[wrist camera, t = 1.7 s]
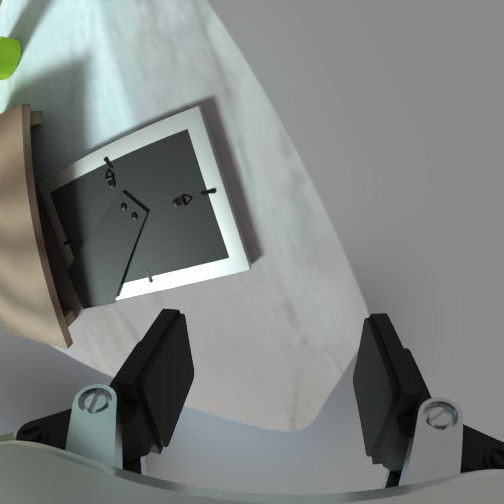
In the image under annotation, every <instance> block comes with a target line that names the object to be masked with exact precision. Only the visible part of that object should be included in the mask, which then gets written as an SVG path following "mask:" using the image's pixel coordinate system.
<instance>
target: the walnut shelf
mask: <svg viewBox="0 0 504 504" xmlns="http://www.w3.org/2000/svg"><path fill="white" fill-rule="evenodd" d="M41 123H42V111H30V104H22V105H19V106H17V107H15V108H13V109H10V110H8V111H6V112H4V113H2V114H0V316H1V319H2V321H3V324H4V326H5V329H6V331H7V333H11V334H14V335H17V336H21V337H24V338H28V339H32V340H35V341H39V342H43V343H46V344H50V345H54V346H58V347H63V348H67V349H68V348H69V347H70V346H71V345H72V344H73V342H72V339H71V336H70V333H69V330H68V327H69V326H70V325H71V324H72V323H73V322H74V321H75V320H76V318H75V315H74V312H73V310H72V309H65V308H61V306H60V303H59V299H58V296H57V292H56V289H55V285H54V282H53V278H52V274H51V270H50V266H49V262H48V258H47V253H46V249H45V244H44V239H43V234H42V229H41V224H40V218H39V212H38V206H37V199H36V192H35V184H34V175H33V165H32V152H31V135H30V127H32V126H35V125H38V124H41Z"/></svg>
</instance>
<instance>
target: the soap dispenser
mask: <svg viewBox="0 0 504 504" xmlns="http://www.w3.org/2000/svg"><path fill="white" fill-rule="evenodd" d="M21 52H22V46H21V43H20V41H19V40H17V39H12V38H6V37H1V36H0V80H5V79H7V78H9V77H10V76H11V75H12V74H13V72H14V71H15V69H16V68H17V66H18V63H19V61H20V57H21Z"/></svg>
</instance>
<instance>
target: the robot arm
mask: <svg viewBox="0 0 504 504" xmlns="http://www.w3.org/2000/svg"><path fill="white" fill-rule="evenodd" d="M193 379H194V366H193V361H192V355H191V349H190V344H189V338H188V331H187V325H186V319H185V315H184V314H181V313H180V311H179V310H176V309H163V310H162V311H161V312H160V314H159V315H158V317H157V318H156V320H155V321H154V323H153V324H152V325H151V327H150V328H149V330H148V331H147V333H146V334H145V336H144V337H143V339H142V340H141V341H140V342H138V343H137V345H136V346H135V348H134V349H133V351H132V352H131V353H130V355H129V356H128V358H127V359H126V361H125V362H124V364H123V365H122V367H121V368H120V370H119V371H118V373H117V375H116V376H115V378H114V379H113V381H112V382H111V384H110V386H105V385H99V384H98V385H97V384H96V385H91V386H88V387H86V388H84V389H82V390H81V391H80V392H79V393H78V394H77V395H76V396H75V399H74V402H73V407H72V409H69V410H66V411H63V412H59V413H57V414H53V415H50V416H47V417H44V418H40V419H37V420H34V421H31V422H28V423H26V424H25V425H23V426H22V427H21V428H20V429H19V431H18V433H17V435H15V434H14V433H13V432H12V433H9V434H5V435H1V436H0V504H504V442H502V441H499V440H496V439H495V438H492V437H490V436H488V435H486V434H483V433H481V432H479V431H477V430H475V429H472V428H470V427H468V426H466V425H464V424H463V415H462V411H461V409H460V408H459V406H458V405H457V404H455V403H454V402H453V401H451V400H449V399H445V398H431V396H430V393H429V391H428V389H427V387H426V384H425V382H424V380H423V378H422V375H421V373H420V371H419V369H418V366H417V365H416V362H415V360H414V358H413V356H412V354H411V352H410V350H409V349H407V348H403V346H402V344H401V342H400V339H399V337H398V335H397V333H396V331H395V329H394V327H393V325H392V323H391V321H390V319H389V317H388V315H387V314H386V313H382V314H371V315H370V317H369V318H365V320H364V325H363V331H362V336H361V341H360V347H359V352H358V357H357V362H356V366H355V371H354V376H353V384H354V390H355V395H356V400H357V405H358V410H359V416H360V421H361V427H362V432H363V438H364V444H365V450H366V455H367V456H372V461H373V464H381V463H382V464H383V466H384V467H385V468H387V469H388V470H387V474H386V477H385V480H384V483H383V487H382V489H376V490H368V491H359V492H349V493H334V494H307V495H287V494H286V495H284V494H261V493H247V492H236V491H235V492H234V491H226V490H218V489H211V488H204V487H198V486H192V485H186V484H180V483H175V482H171V481H166V480H161V479H157V478H153V477H148V476H146V470H145V458H144V456H145V455H148V454H149V452H153V453H157V454H161V451H162V449H163V447H167V446H168V445H169V442H170V440H171V437H172V435H173V432H174V429H175V427H176V424H177V421H178V419H179V416H180V413H181V411H182V408H183V405H184V403H185V400H186V397H187V395H188V392H189V390H190V387H191V384H192V382H193Z"/></svg>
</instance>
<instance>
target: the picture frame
mask: <svg viewBox="0 0 504 504" xmlns="http://www.w3.org/2000/svg"><path fill="white" fill-rule="evenodd" d="M38 184H39V187H40V191H41V194H42V197H43V200H44V203H45V206H46V209H47V212H48V215H49V218H50V221H51V223H52V226H53V229H54V231H55V234H56V237H57V239H58V242H59V244H60V247H61V249H62V252H63V254H64V257H65V259H66V261H67V264H68V266H69V268H68V270H67V272H68V275H69V277H70V279H71V282H72V284H73V286H74V289H75V291H76V293H77V295H78V297H79V300H80V302H81V304H82V306H83V308H84V309H85V308H90V307H95V306H100V305H105V304H110V303H114V302H115V300H117V299H122V298H126V297H131V296H136V295H140V294H145V293H149V292H154V291H159V290H163V289H168V288H172V287H177V286H181V285H186V284H190V283H195V282H199V281H204V280H208V279H212V278H217V277H221V276H226V275H230V274H234V273H239V272H243V271H247V270H251V266H252V262H251V259H250V256H249V253H248V249H247V246H246V243H245V240H244V237H243V234H242V230H241V227H240V224H239V221H238V218H237V215H236V211H235V208H234V205H233V202H232V199H231V196H230V192H229V189H228V186H227V183H226V180H225V177H224V173H223V170H222V167H221V164H220V161H219V157H218V154H217V151H216V148H215V145H214V141H213V138H212V135H211V132H210V129H209V125H208V122H207V119H206V116H205V113H204V109H203V107H200V106H197V107H194V108H191V109H189V110H186V111H183V112H181V113H178V114H176V115H173V116H171V117H168V118H166V119H163V120H161V121H158V122H156V123H154V124H151V125H149V126H147V127H144V128H142V129H140V130H138V131H136V132H133V133H131V134H129V135H127V136H125V137H123V138H121V139H118V140H116V141H114V142H112V143H110V144H108V145H106V146H104V147H102V148H100V149H98V150H96V151H94V152H93V153H91V154H89V155H87V156H85V157H83V158H81V159H79V160H78V161H76V162H74V163H72V164H70V165H69V166H67V167H65V168H63V169H62V170H60V171H58V172H57V173H55V174H53V175H52V176H50V177H48V178H47V179H45V180H43V181H42V182H40V183H38Z"/></svg>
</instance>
